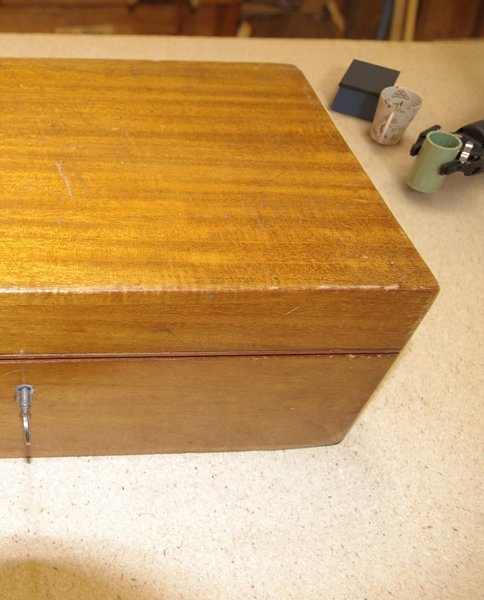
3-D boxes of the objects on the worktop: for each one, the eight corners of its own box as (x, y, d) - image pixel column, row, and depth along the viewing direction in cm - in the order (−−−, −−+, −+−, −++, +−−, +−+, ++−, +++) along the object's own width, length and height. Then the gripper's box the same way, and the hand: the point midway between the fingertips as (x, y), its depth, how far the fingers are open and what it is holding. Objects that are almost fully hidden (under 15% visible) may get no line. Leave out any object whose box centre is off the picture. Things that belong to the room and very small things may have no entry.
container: (388, 98, 165) (400, 71, 160) (376, 123, 158) (388, 96, 152) (343, 85, 169) (353, 58, 164) (329, 109, 161) (339, 82, 156)
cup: (441, 180, 139) (464, 137, 132) (435, 196, 136) (459, 153, 128) (409, 170, 142) (430, 127, 134) (402, 186, 138) (423, 142, 131)
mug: (407, 134, 155) (426, 93, 148) (395, 162, 148) (415, 121, 140) (369, 122, 158) (386, 82, 151) (355, 150, 150) (372, 109, 143)
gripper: (462, 104, 141) (404, 125, 135) (527, 140, 132) (468, 164, 126) (446, 136, 146) (389, 157, 141) (507, 172, 138) (449, 197, 132)
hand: (427, 160), depth 133 cm, fingers closed on cup, 6 cm apart
